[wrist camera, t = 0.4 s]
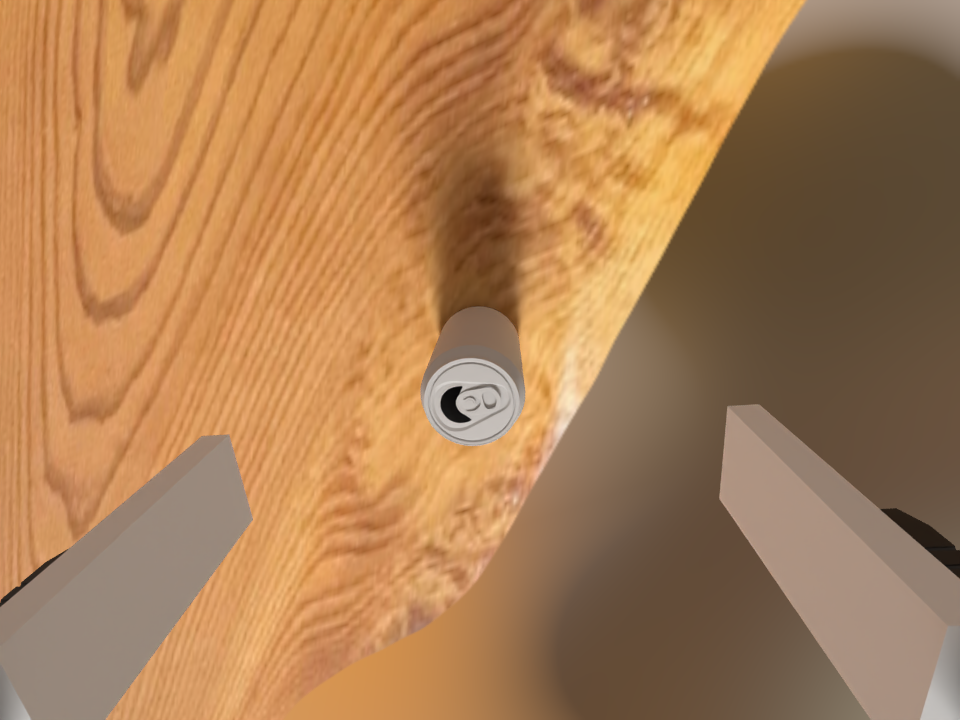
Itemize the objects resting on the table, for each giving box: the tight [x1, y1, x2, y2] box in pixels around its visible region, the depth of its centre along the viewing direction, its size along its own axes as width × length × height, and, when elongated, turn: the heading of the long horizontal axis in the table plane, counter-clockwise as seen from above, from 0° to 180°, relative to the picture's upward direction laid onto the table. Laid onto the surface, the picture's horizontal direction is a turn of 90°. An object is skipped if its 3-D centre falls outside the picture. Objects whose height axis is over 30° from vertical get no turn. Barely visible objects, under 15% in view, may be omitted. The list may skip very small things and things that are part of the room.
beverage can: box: [421, 306, 525, 446], centre depth 35 cm, size 6×6×12 cm
